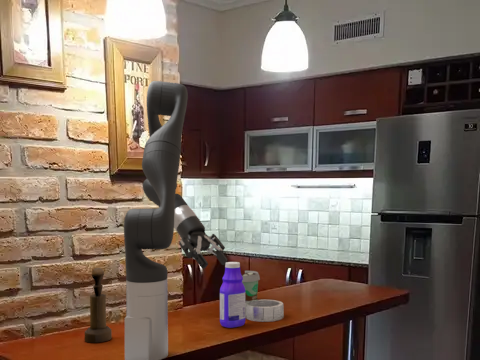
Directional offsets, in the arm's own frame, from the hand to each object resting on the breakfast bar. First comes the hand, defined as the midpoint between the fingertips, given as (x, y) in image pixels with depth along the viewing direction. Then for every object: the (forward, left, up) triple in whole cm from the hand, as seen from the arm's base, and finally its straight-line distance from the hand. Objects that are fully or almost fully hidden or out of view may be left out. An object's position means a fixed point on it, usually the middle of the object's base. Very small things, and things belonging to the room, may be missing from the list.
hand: (215, 264), depth 145 cm
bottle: (-2, -6, -16) cm, 18 cm away
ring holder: (+10, -11, -16) cm, 22 cm away
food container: (+27, -1, -16) cm, 32 cm away
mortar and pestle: (-25, +22, -16) cm, 37 cm away
